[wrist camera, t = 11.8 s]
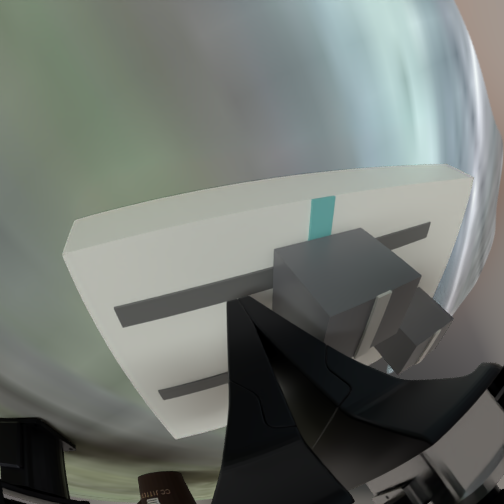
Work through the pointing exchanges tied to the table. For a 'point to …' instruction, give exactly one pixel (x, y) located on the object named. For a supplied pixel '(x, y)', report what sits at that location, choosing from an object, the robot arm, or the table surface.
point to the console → (239, 267)
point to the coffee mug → (164, 489)
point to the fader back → (415, 333)
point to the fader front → (343, 289)
